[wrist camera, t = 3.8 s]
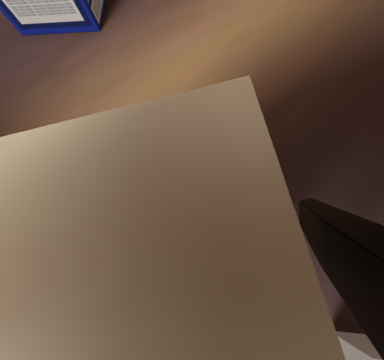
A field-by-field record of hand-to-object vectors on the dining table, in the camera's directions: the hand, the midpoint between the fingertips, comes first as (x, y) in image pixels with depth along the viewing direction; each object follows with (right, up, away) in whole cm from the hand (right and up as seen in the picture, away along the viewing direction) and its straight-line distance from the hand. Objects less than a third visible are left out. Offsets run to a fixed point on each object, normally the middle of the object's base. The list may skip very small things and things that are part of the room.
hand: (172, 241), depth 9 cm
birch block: (+1, -3, +6) cm, 7 cm away
